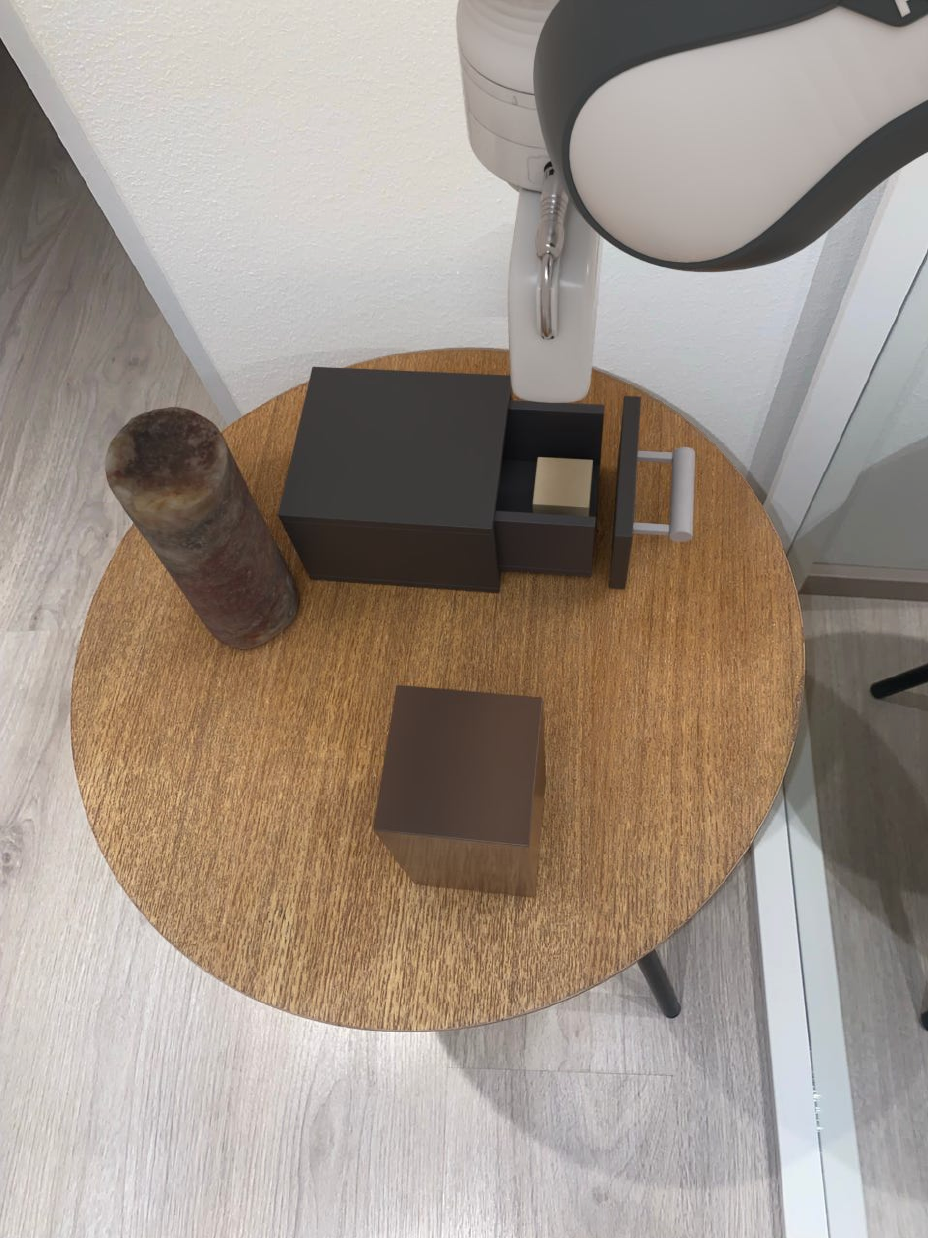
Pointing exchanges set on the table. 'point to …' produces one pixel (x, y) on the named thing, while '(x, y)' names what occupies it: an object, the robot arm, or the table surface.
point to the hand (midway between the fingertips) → (566, 315)
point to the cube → (563, 486)
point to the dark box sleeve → (398, 478)
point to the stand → (464, 789)
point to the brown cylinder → (202, 524)
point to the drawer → (571, 538)
